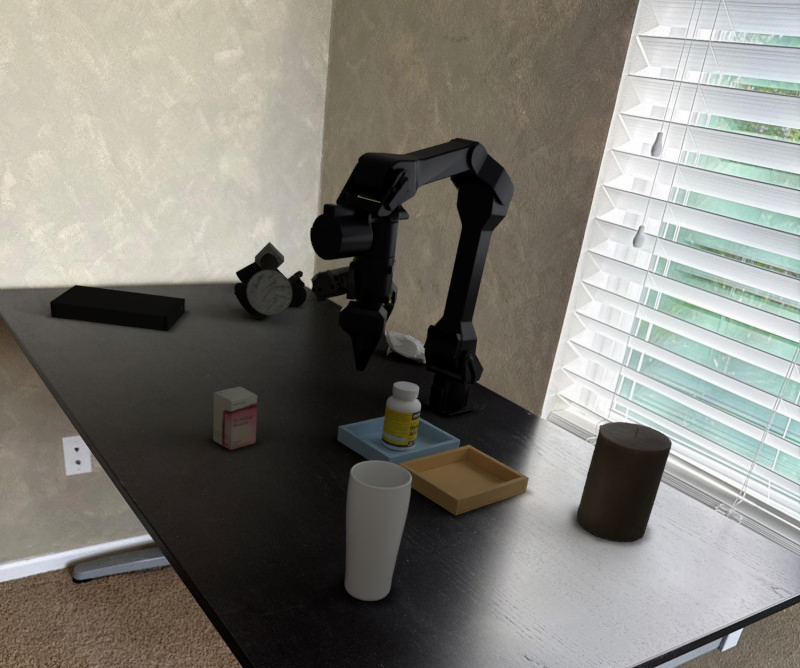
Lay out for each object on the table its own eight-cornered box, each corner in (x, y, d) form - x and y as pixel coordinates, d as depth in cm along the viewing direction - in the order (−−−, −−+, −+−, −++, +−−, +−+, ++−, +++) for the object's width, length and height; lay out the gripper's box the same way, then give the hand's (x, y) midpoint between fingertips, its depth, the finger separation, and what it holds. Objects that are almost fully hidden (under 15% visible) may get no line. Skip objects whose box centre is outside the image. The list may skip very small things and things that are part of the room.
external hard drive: (76, 298, 175) (75, 284, 173) (185, 312, 176) (185, 298, 174) (51, 317, 162) (49, 301, 161) (168, 331, 163) (167, 316, 162)
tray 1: (406, 424, 137) (408, 411, 136) (458, 453, 129) (460, 439, 128) (337, 440, 128) (338, 426, 127) (388, 472, 120) (389, 458, 119)
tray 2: (466, 458, 128) (468, 444, 127) (525, 492, 120) (529, 477, 119) (396, 477, 119) (398, 463, 118) (455, 515, 111) (458, 500, 110)
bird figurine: (382, 365, 165) (429, 364, 162) (380, 330, 163) (428, 329, 160) (391, 363, 170) (436, 362, 166) (389, 330, 168) (435, 328, 164)
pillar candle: (641, 549, 109) (673, 448, 102) (569, 529, 112) (596, 429, 104) (647, 518, 117) (678, 423, 110) (581, 501, 120) (606, 406, 112)
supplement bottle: (411, 454, 126) (420, 395, 121) (377, 448, 126) (384, 388, 121) (418, 441, 130) (426, 383, 125) (385, 435, 131) (392, 377, 126)
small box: (230, 451, 120) (230, 401, 116) (212, 440, 122) (212, 391, 118) (257, 443, 123) (258, 394, 119) (239, 433, 126) (240, 385, 122)
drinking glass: (337, 572, 96) (348, 457, 88) (393, 575, 97) (409, 461, 89) (338, 606, 90) (350, 486, 83) (398, 608, 91) (416, 490, 83)
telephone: (280, 353, 177) (278, 309, 202) (321, 313, 173) (314, 274, 198) (226, 302, 169) (231, 264, 194) (268, 259, 166) (268, 226, 191)
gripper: (329, 233, 122) (322, 334, 130) (305, 259, 106) (298, 373, 114) (403, 243, 122) (391, 345, 130) (389, 271, 106) (377, 384, 114)
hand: (364, 360), depth 122 cm, fingers open, 9 cm apart
